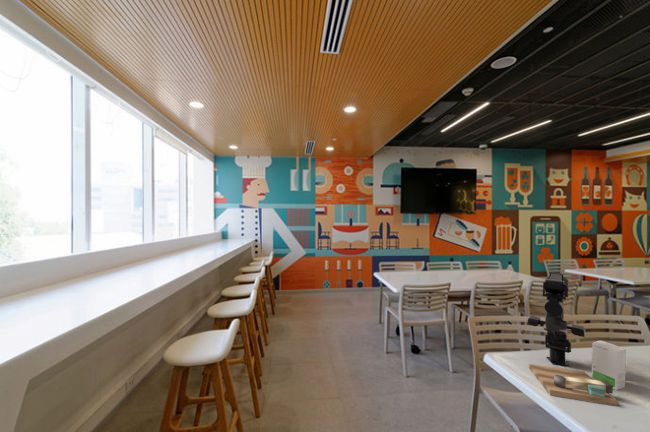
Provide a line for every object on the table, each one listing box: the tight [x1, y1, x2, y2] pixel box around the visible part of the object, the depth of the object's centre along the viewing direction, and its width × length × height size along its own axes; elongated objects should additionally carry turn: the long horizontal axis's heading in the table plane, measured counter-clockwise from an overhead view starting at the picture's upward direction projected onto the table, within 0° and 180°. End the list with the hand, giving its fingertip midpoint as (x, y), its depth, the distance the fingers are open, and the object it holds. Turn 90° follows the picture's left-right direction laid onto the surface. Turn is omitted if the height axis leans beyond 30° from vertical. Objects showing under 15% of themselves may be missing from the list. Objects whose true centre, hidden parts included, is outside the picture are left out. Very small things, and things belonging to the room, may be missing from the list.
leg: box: [554, 375, 614, 394], centre depth 106 cm, size 18×4×3 cm, turn 76°
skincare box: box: [590, 339, 627, 391], centre depth 112 cm, size 8×7×16 cm
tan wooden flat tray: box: [528, 363, 618, 407], centre depth 111 cm, size 20×20×5 cm
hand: (555, 345), depth 119 cm, fingers closed
